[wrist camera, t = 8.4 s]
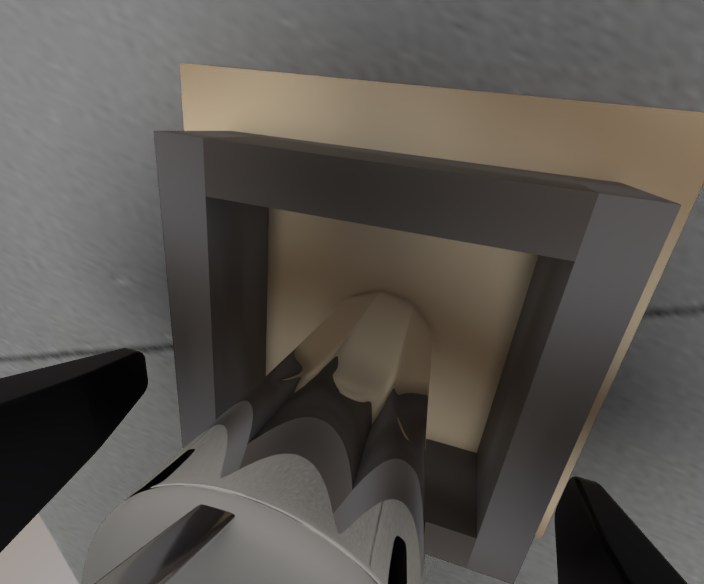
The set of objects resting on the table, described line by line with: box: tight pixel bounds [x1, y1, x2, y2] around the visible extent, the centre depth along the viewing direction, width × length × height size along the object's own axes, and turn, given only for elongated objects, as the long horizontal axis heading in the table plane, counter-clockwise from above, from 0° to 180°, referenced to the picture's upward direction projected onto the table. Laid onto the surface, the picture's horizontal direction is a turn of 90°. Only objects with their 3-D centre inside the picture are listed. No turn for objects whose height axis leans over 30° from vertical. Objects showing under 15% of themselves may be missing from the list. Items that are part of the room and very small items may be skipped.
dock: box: [154, 63, 704, 584], centre depth 11 cm, size 13×13×4 cm
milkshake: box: [82, 290, 433, 584], centre depth 8 cm, size 4×5×10 cm
